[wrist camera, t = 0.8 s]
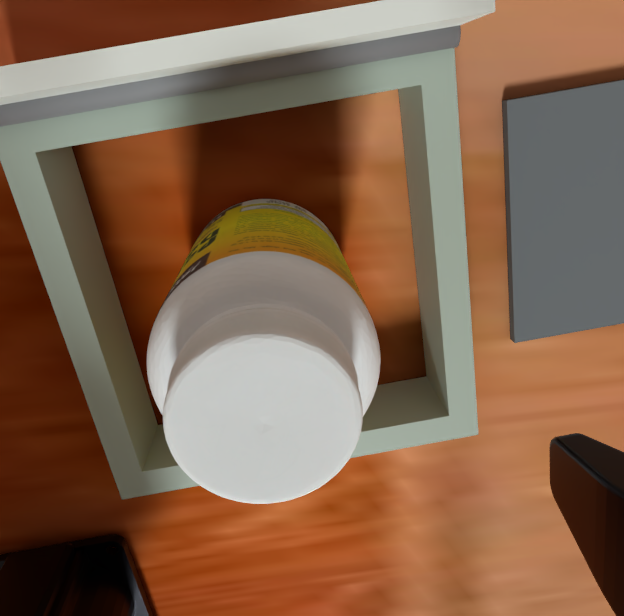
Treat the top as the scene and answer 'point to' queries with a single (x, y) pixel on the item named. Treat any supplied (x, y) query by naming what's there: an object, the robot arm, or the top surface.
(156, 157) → the top surface
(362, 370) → the supplement bottle
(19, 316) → the top surface
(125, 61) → the drawer
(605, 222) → the mat
